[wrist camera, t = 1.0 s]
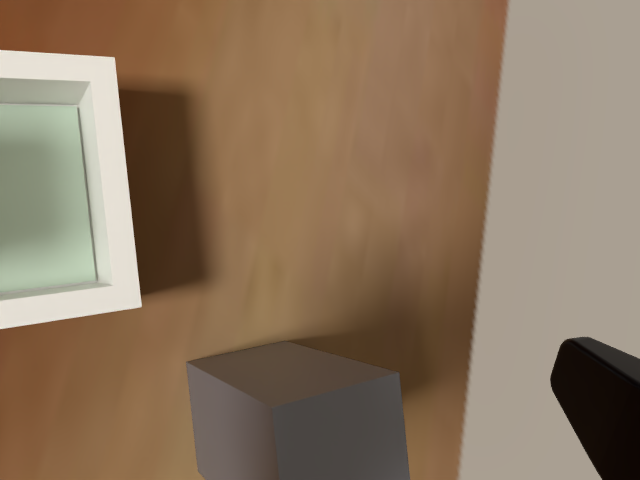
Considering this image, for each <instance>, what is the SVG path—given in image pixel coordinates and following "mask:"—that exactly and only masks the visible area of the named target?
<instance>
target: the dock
mask: <svg viewBox="0 0 640 480" xmlns="http://www.w3.org/2000/svg"><path fill="white" fill-rule="evenodd" d="M139 307H142V305H141V296H140V286H139V277H138V268H137V259H136V250H135V241H134V232H133V222H132V213H131V204H130V195H129V186H128V177H127V167H126V158H125V149H124V140H123V131H122V122H121V112H120V103H119V94H118V85H117V76H116V67H115V58H114V57H100V56H84V55H69V54H53V53H37V52H21V51H5V50H0V329H4V328H10V327H17V326H23V325H30V324H36V323H43V322H49V321H55V320H62V319H68V318H75V317H81V316H88V315H94V314H100V313H107V312H113V311H120V310H126V309H133V308H139Z"/></svg>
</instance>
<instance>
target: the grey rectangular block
mask: <svg viewBox="0 0 640 480" xmlns="http://www.w3.org/2000/svg"><path fill="white" fill-rule="evenodd" d="M186 365H187V374H188V383H189V392H190V402H191V411H192V420H193V429H194V439H195V448H196V457H197V466H198V472H199V473H200V474H201V475H202V476H203V477H204V478H205V479H206V480H410V475H409V465H408V455H407V445H406V435H405V425H404V415H403V405H402V395H401V385H400V375H399V372H396V371H392V370H389V369H385V368H381V367H378V366H374V365H371V364H367V363H363V362H360V361H356V360H352V359H349V358H345V357H342V356H338V355H334V354H331V353H327V352H323V351H320V350H316V349H313V348H309V347H305V346H302V345H298V344H294V343H291V342H287V341H282V342H278V343H273V344H268V345H263V346H259V347H254V348H249V349H245V350H240V351H235V352H230V353H226V354H221V355H216V356H212V357H207V358H202V359H198V360H193V361H188V362H186Z"/></svg>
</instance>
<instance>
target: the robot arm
mask: <svg viewBox="0 0 640 480" xmlns="http://www.w3.org/2000/svg"><path fill="white" fill-rule="evenodd" d="M550 381H551V387H552V390H553V392H554V394H555V396H556V398H557V400H558V401H559V403H560V405H561V407H562V409H563V411H564V413H565V414H566V416H567V418H568V420H569V422H570V424H571V425H572V427H573V429H574V431H575V433H576V435H577V436H578V438H579V440H580V442H581V444H582V446H583V447H584V449H585V451H586V452H587V454H588V456H589V458H590V460H591V462H592V463H593V465H594V467H595V468H596V471H597V472H598V474H599V475H600V477H601V478H602V480H640V359H638V358H636V357H634V356H632V355H629V354H627V353H625V352H622V351H620V350H618V349H616V348H613V347H611V346H609V345H606V344H604V343H602V342H599V341H597V340H594V339H592V338H589V337H579V338H572V339H567V340H565V341H564V342H563V343H562V344H561V346H560V349H559V352H558V355H557V358H556V361H555V364H554V367H553V370H552V374H551V378H550Z"/></svg>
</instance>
